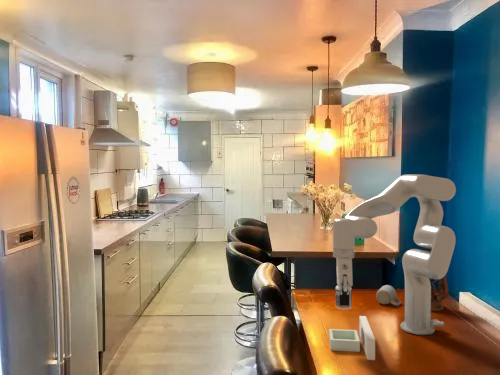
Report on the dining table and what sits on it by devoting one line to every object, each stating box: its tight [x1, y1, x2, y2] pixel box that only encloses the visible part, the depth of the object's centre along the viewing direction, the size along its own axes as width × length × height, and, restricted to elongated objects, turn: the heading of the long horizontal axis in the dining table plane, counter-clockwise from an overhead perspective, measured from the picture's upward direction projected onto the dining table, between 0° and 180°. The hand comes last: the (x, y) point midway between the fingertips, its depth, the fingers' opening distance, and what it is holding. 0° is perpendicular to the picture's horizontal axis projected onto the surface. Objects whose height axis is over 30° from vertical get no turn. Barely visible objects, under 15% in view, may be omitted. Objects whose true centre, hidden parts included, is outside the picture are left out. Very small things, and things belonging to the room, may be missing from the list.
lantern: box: [423, 247, 450, 312], centre depth 189 cm, size 17×13×30 cm
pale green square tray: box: [328, 328, 361, 353], centre depth 149 cm, size 10×10×4 cm
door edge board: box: [358, 315, 376, 361], centre depth 148 cm, size 3×22×7 cm, turn 172°
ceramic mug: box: [375, 284, 402, 307], centre depth 194 cm, size 11×8×8 cm
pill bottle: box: [334, 279, 353, 311], centre depth 148 cm, size 6×6×10 cm
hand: (343, 302), depth 148 cm, fingers closed on pill bottle, 5 cm apart
